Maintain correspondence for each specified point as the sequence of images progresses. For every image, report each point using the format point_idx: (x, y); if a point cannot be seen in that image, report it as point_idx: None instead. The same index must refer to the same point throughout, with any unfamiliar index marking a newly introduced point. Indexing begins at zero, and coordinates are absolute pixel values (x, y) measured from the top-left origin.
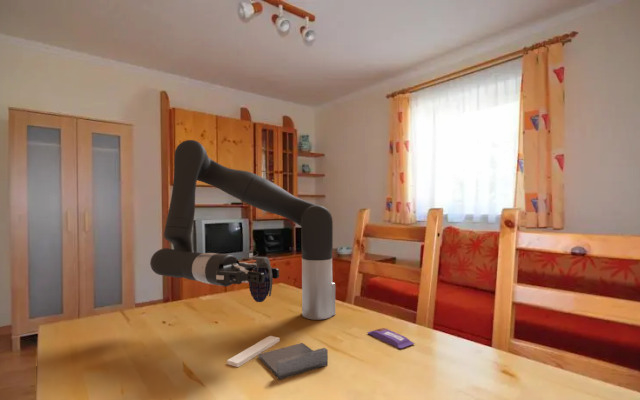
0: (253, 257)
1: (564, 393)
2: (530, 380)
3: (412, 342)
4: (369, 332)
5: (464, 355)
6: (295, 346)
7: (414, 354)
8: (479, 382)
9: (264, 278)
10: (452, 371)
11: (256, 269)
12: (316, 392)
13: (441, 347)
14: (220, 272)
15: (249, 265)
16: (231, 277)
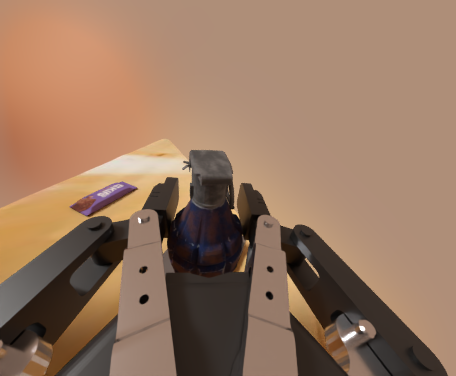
0: (231, 176)
1: (175, 147)
2: (166, 151)
3: (120, 182)
4: (87, 212)
5: (139, 164)
6: (165, 272)
7: (145, 181)
8: (177, 162)
9: (239, 193)
10: (168, 168)
11: (227, 206)
12: (238, 217)
13: (125, 171)
14: (400, 323)
15: (165, 281)
16: (317, 285)
